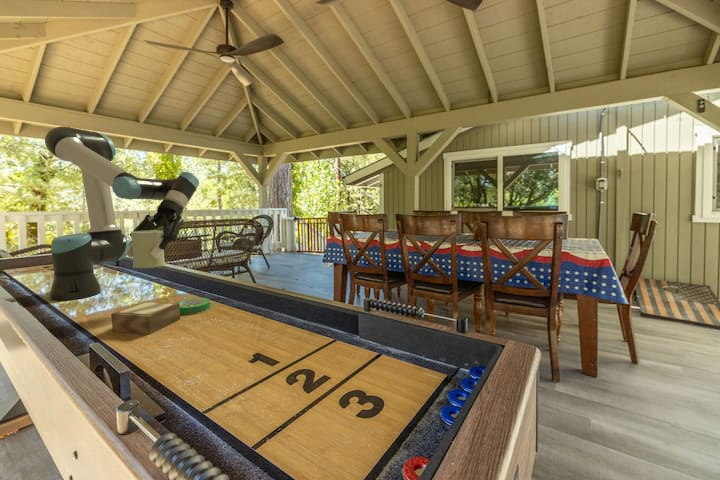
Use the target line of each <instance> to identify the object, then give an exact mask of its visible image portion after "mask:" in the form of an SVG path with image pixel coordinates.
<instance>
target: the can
mask: <svg viewBox="0 0 720 480" xmlns="http://www.w3.org/2000/svg"><path fill="white" fill-rule="evenodd" d="M130 234H131V236H130V238H131V241H132V251H133V257H132V267H133V268H135V269H149V268H150V269H151V268H152V269H153V268H160V267H162V266H165V265H166V262H165V249H164V250H162V252H161V253H160V255H159V257H158V258H157V259H155V258H154V257H153V256H152V255H151V252H152V250H153V249H154V247H155V246H156V244H157V242H158V241H159V239H160V238H162V239H164V238H163V237H162V236H163V230H162V229H161V230H160V229H159V230H158V229H155V230H143V231H133V230H132V231H130Z"/></svg>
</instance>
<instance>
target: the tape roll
mask: <svg viewBox="0 0 720 480" xmlns="http://www.w3.org/2000/svg"><path fill="white" fill-rule="evenodd" d="M175 303H177V304H179V305H180V315H191V314H190V313H195V314H198V313H197V312H200V313H203V312H206V311H208V310H210V309H211V299H209V298H207V297H190V298H185V299H181V300H179V301H176V302H175ZM191 305H193V306H191ZM209 308H210V309H209ZM207 309H208V310H207ZM205 310H206V311H205ZM202 311H203V312H202Z"/></svg>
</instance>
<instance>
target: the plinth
mask: <svg viewBox="0 0 720 480" xmlns="http://www.w3.org/2000/svg"><path fill="white" fill-rule="evenodd" d="M110 315H111V328H112V329H111V330H112V332H116V333H117V332H118V333H130V334H131V333H133V334H142V335H143V334H144V335H151V334H154V333H155V332H158V331H160V330H162V329H163V328H166V327H168V326H170V325H172V324H173V323H174V324H175V323H176V322H178V321H180V320H181V314H180V305H179V304H177V303H176V302H174V303H173V302H161V301H160V302H157V301H143V302H141V303H137V304H134V305H133V306H128V307H127V308H123V309H121V310H118V311H115V312H113V313H111V314H110Z"/></svg>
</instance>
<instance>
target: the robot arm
mask: <svg viewBox="0 0 720 480" xmlns="http://www.w3.org/2000/svg"><path fill="white" fill-rule="evenodd" d="M44 144H45V147H46V148H47V150H48V151H49V152H50V153H51V155H53V156H54V157H56V158H58V159H60V160H61V161H63V162H70V163H72V164H73V165H75V166H77V167H78V168H79V169H80V170H81V172H80V173H81V177H82V183H83V190H84V194H85V201H86V207H87V214H88V218H89V224H90V228H89V229H88V230H87V231H86V232H80V233H71V234H70V233H69V234H66V235H65V234H64V235H61V236H57V237H54V238H53V239H52V240H51V245H50V248H51V249H50V252H51V257H52V266H53V276H54V278H53V282H52V283H51V289H50V291H49V298H50V300H52V299H54V300H53V301H68V300H67V299H71V300H78V299H84V298H89V297H93V296H95V295H98V294H101V293H102V288H101V287H102V286H101V285H100V284H99V281H98V279H97V277H96V275H95V271H94V266H95V265H101V264H105V263H106V264H107V263H114V262H117V261H121V260H123V259H126V258H127V257H128V258H129V259H133V251H132V240H131V241H130V238H129V237H128V236H127V234H125V233H123V232H122V229H121V228H120V227H119V226H118V225H117V222H116V215H115V210H114V203H113V199H112V198H113V197H112V193H111V191H112V192H113V193H114V195H115V197H118V198H119V199H125V200H152V201H161V202H160V203H159V205H158V207H157V209H156V210H157V212H156V213H155V214H154V215H150V214H146V215H145V217H144V219H143V220H141V222H140V223H138V225H137V226H136V227H135V228H134V229H133V230H132V231H143V230H158V229H159V228H162V227H163V230H162V231H163V236H162V237H163V239H162V238H160V239H159V241H158V242H157V244H156V246H155V247H154V249H153V250H152V252H151V255H152V256H153V257H154V258H155V259H157V258H158V257H159V255H160V253H161V252H162V250H164V251H165V249H166V248H167V246H168V245H169V243H170V242H175V241H177V238H178V235H179V232H180V229H181V226H182V224H183V223H184V222H185V220H184V218H183V217H182V214H183V211H184V210H185V208H186V207H187V205H188V203H189V202H190V200H191V199H192V197H193V195H194V194H195V193H196V191H197V189H198V187H199V184H200V180H199V178H197V176H196V175H195V174H194V173H192V172H189V171H183V172H181V173H180V174H178V176H177V177H176V178H175V177H174V178H168V179H167V178H166V179H157V178H156V179H155V178H145V177H143V178H142V177H137V176H135V175H134V174H132V173H131V172H129V171H127V170H125V169H123V168H122V167H120V166H118V165H117V164H115V163H113V162H112V161H114V160H115V156H116V153H117V150H116V147H115V144H114V142H113V141H112V139H111V138H110V137H108V136H107V135H105V134H104V133H99V132H97V131H91V130H86V129H81V128H74V127H71V126H56V127H53V128H52V129H50V130H48V132H47V133H46V134H45V136H44ZM111 189H112V190H111ZM129 236H130V237H131V233H130V234H129Z"/></svg>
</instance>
